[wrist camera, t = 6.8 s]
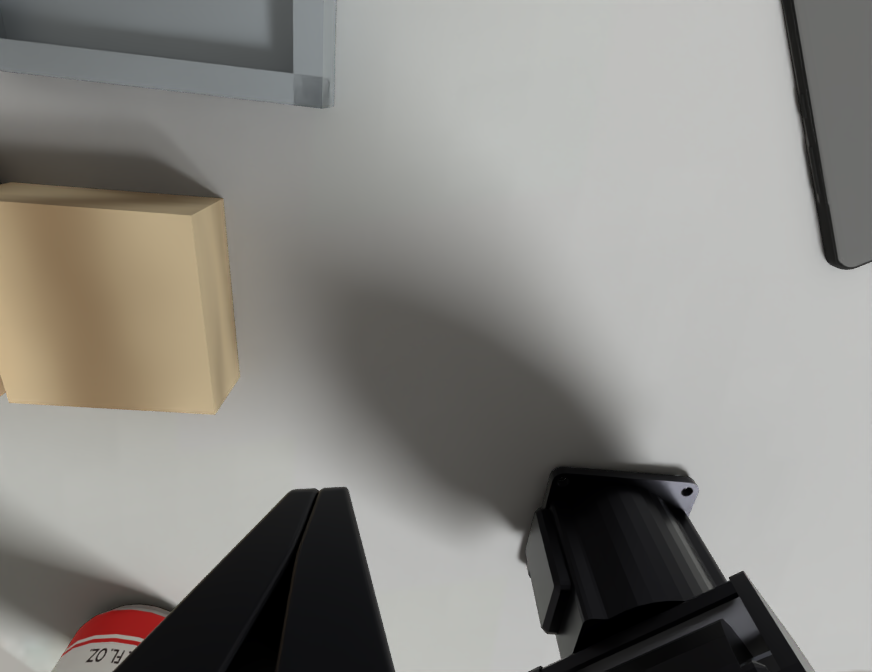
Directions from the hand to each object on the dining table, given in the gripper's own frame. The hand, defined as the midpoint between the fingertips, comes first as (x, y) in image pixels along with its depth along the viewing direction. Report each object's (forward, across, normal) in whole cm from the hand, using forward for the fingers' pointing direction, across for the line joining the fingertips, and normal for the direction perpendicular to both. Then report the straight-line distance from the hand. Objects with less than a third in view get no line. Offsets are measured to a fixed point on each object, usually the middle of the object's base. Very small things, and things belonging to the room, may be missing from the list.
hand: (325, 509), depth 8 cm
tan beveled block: (+13, +9, 0) cm, 16 cm away
